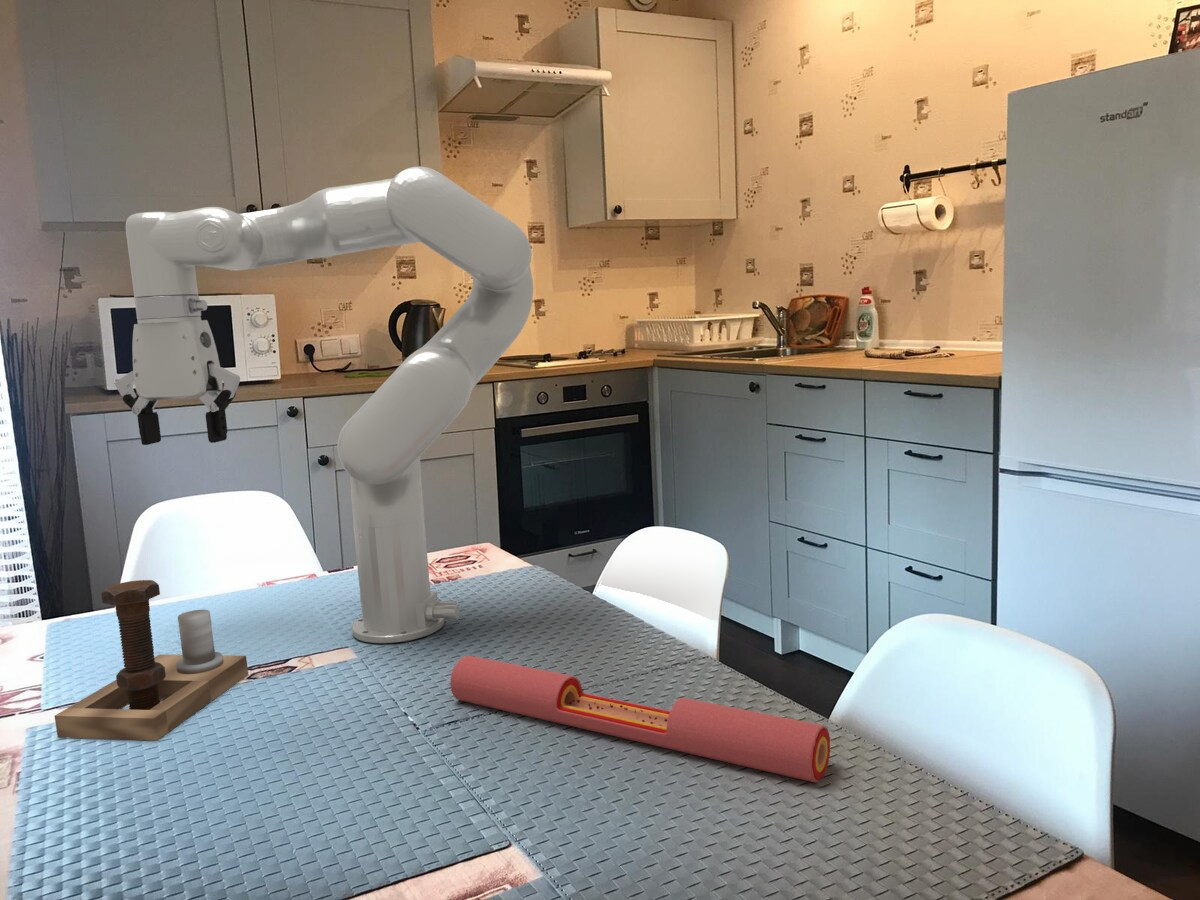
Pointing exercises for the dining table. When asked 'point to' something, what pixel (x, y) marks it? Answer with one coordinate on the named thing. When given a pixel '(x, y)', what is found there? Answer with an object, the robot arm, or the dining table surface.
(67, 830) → the dining table surface
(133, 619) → the bolt
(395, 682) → the dining table surface
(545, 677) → the blood vessel
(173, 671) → the wooden peg holder
